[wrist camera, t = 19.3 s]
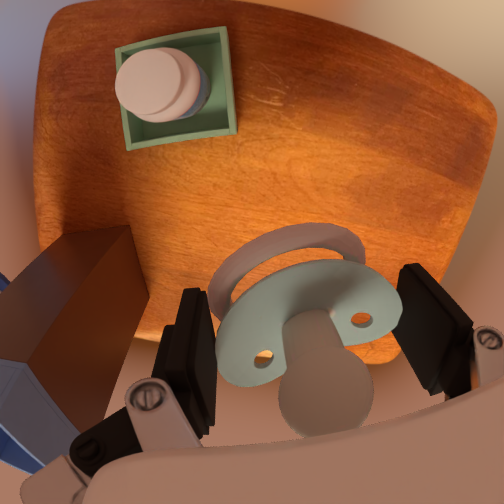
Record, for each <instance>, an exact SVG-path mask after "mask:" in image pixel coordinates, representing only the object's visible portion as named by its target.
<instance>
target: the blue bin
mask: <svg viewBox="0 0 504 504" xmlns="http://www.w3.org/2000/svg"><path fill="white" fill-rule="evenodd" d="M148 301H149V295H148V291H147V288H146V285H145V281H144V278H143V274H142V271H141V267H140V264H139V260H138V256H137V253H136V249H135V245H134V241H133V237H132V233H131V229H130V225H126V226H119V227H112V228H105V229H98V230H91V231H84V232H77V233H71V234H64V235H61V236H60V237H59V238H58V239H57V240H56V241H55V242H53V243H52V244H51V245H50V246H49V247H48V248H47V249H46V250H44V251H43V252H42V253H41V254H40V255H39V256H38V257H37V258H36V259H35V260H34V261H33V262H31V263H30V264H29V265H28V266H27V267H26V268H25V269H24V270H23V271H22V272H21V273H20V274H19V275H18V276H17V277H16V278H15V279H14V280H13V281H12V282H11V283H10V284H9V285H8V286H7V287H6V288H5V289H4V290H3V291H2V292H1V293H0V461H2V462H4V463H6V464H8V465H10V466H12V467H14V468H16V469H19V470H21V471H23V472H25V473H28V474H30V475H33V474H34V473H36V472H37V471H39V470H40V469H42V468H43V467H45V466H46V465H47V464H49V463H50V462H52V461H53V460H55V459H56V458H57V457H59V456H60V455H64V456H66V455H68V454H69V449H70V446H71V443H72V442H73V440H74V439H75V438H76V437H77V436H78V435H80V434H81V433H83V432H85V431H86V430H88V429H90V428H91V427H93V426H95V425H96V424H98V423H99V422H101V421H103V419H104V416H105V413H106V410H107V407H108V404H109V401H110V398H111V395H112V393H113V390H114V387H115V384H116V382H117V379H118V376H119V373H120V371H121V368H122V365H123V363H124V360H125V357H126V355H127V352H128V350H129V347H130V344H131V342H132V339H133V337H134V334H135V332H136V329H137V327H138V325H139V322H140V320H141V317H142V315H143V312H144V310H145V308H146V305H147V303H148Z"/></svg>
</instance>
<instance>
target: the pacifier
mask: <svg viewBox="0 0 504 504" xmlns="http://www.w3.org/2000/svg"><path fill="white" fill-rule="evenodd" d="M303 248H326V249H330V250H334V251H336V252H338V253H339V254H341V255H342V256H343V259H344V260H340V259H321V260H313V261H307V262H302V263H298V264H295V265H292V266H288V267H286V268H283V269H281V270H278V271H276V272H274V273H272V274H270V275H268V276H266V277H264V278H263V279H261V280H260V281H258V282H257V283H255V284H254V285H253V286H251V287H250V288H249V289H247V290H246V291H245V292H244V293H243V294H242V295H241V296H240V297H239V298H238V299H237V300H236V301H235V302H234V303H232V300H231V293H232V292H233V290H234V288H235V286H236V284H237V283H238V282H239V281H240V280H241V279H242V278H243V277H244V276H245V275H246V274H247V273H248V272H249V271H250V270H252V269H253V268H255V267H256V266H257V265H259V264H260V263H262V262H264V261H266V260H268V259H270V258H272V257H274V256H276V255H279V254H282V253H285V252H288V251H291V250H297V249H303ZM365 262H366V261H365V248H364V246H363V244H362V242H361V240H360V239H359V237H358V236H356V235H355V234H354V233H352V232H351V231H350V230H348V229H347V228H344V227H340V226H337V225H334V224H330V223H304V224H297V225H290V226H286V227H283V228H280V229H277V230H274V231H271V232H268V233H265V234H263V235H261V236H259V237H258V238H256V239H254V240H252V241H250V242H248V243H246V244H245V245H243V246H242V247H241V248H239V249H238V250H237V251H236V252H234V253H233V254H232V255H231V256H229V257H228V258H227V259H226V260H225V261H224V262H223V264H222V265H221V266H220V267H219V268H218V270H217V271H216V272H215V273H214V275H213V278H212V280H211V282H210V284H209V286H208V295H207V299H208V304H209V307H210V310H211V312H212V313H213V314H214V315H215V316H216V317H217V318H218V319H219V320H220V321H221V323H220V326H219V328H218V330H217V336H216V342H215V353H216V358H217V363H218V364H217V367H218V370H219V372H220V373H221V375H222V376H223V377H224V379H225V380H227V381H228V382H229V383H231V384H234V385H236V386H240V387H253V386H257V385H261V384H264V383H267V382H270V381H272V380H274V379H275V378H277V377H279V376H281V375H282V374H284V375H283V377H282V380H281V383H280V387H279V398H278V399H279V406H280V410H281V413H282V416H283V418H284V419H285V421H286V423H287V424H288V425H289V426H290V428H291V429H292V430H294V431H295V432H296V433H297V434H299V435H300V436H302V437H304V438H309V437H315V436H321V435H326V434H331V433H336V432H341V431H346V430H351V429H355V428H359V427H360V426H361V425H362V424H363V422H364V421H365V419H366V418H367V416H368V414H369V411H370V409H371V406H372V402H373V393H374V392H373V391H374V389H373V381H372V378H371V375H370V372H369V370H368V368H367V366H366V365H365V364H364V362H363V361H362V360H361V359H360V358H359V357H358V356H357V355H355V354H354V353H352V352H351V351H349V350H347V349H345V348H344V346H350V345H358V344H362V343H367V342H370V341H373V340H375V339H378V338H381V337H382V336H384V335H386V334H388V333H389V332H390V331H391V330H393V329H394V328H395V327H396V326H397V324H398V321H399V318H400V316H401V314H402V310H403V308H402V302H401V299H400V297H399V295H398V293H397V291H396V290H395V289H394V287H393V286H392V285H391V284H390V283H389V282H388V281H387V280H386V279H385V278H384V277H383V276H382V275H381V274H379V273H378V272H376V271H375V270H373V269H372V268H370V267H368V266H366V265H365ZM359 312H365V313H368V314H370V315H371V317H370V320H369V321H367V322H366V323H363V324H357V323H354V322H352V321H351V317H352V316H353V315H354V314H356V313H359ZM264 350H270V351H272V353H273V355H272V357H271V358H270V360H268V361H267V362H265V363H262V364H257V363H256V362H254V359H255V357H256V355H257V354H258V353H260V352H261V351H264Z"/></svg>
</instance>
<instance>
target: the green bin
mask: <svg viewBox="0 0 504 504" xmlns="http://www.w3.org/2000/svg"><path fill="white" fill-rule="evenodd" d="M163 47H165V48H174V49H177V50H180V51H182V52H183V53H185V54H187V55H188V56H189V57H190V58H191V59H192V60H194V61H195V62H196V63H197V64H198V65H199V66H200V67H201V68H202V69H203V70H204V71H205V72H206V74H207V76H208V78H209V80H210V84H211V92H210V96H209V99H208V101H207V103H206V105H205V106H204V107H203V108H202V109H201V110H200V111H199V112H198V113H196V114H195V115H193V116H191V117H188V118H184V119H178V120H172V121H167V122H149V121H145V120H142V119H140V118H139V117H137V116H136V115H134V114H133V113H132V112H130V111H128V110H127V109H125V108H124V107H123V106H122V105H121V103H120V108H121V116H122V123H123V131H124V137H125V144H126V150H127V151H129V150H134V149H139V148H144V147H149V146H155V145H161V144H166V143H173V142H179V141H185V140H192V139H200V138H207V137H215V136H224V135H233V134H237V131H238V129H237V119H236V108H235V98H234V88H233V78H232V68H231V58H230V47H229V38H228V33H227V28H226V26H222V27H213V28H206V29H199V30H193V31H187V32H181V33H176V34H171V35H166V36H162V37H157V38H153V39H149V40H145V41H141V42H137V43H133V44H129V45H126V46H122V47H119V48H116V49H115V57H116V70H117V73H118V71H119V69H120V67H121V66H122V65H123V63H124V62H125V61H126V60H127V59H128V58H129V57H131V56H132V55H133V54H135V53H137V52H140V51H142V50H146V49H155V48H163Z"/></svg>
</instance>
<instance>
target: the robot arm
mask: <svg viewBox="0 0 504 504" xmlns="http://www.w3.org/2000/svg"><path fill="white" fill-rule="evenodd" d="M396 291H397V293H398V295H399V297H400V299H401V302H402V308H403V310H402V314H401V316H400V318H399V321H398V324H397V326H396V327H395V328H394V329H393V330H391V332H392V333H393V335H394V337H395V338H396V340H397V342H398V344H399V345H400V347H401V349H402V350H403V352H404V354H405V356H406V357H407V359H408V361H409V363H410V365H411V367H412V368H413V370H414V372H415V374H416V375H417V377H418V379H419V381H420V383H421V385H422V387H423V388H424V389H426V390H428V392H429V394H430V396H432V395H435V394H438V393H441V392H442V391H444V393H445V402H442V403H440V404H437V405H434V406H431V407H429V408H425V409H423V410H419V411H416V412H413V413H410V414H407V415H404V416H401V417H397V418H394V419H390V420H387V421H383V422H379V423H376V424H372V425H368V426H364V427H360V428H355V429H351V430H346V431H341V432H336V433H331V434H326V435H321V436H315V437H309V438H302V439H296V440H289V441H281V442H271V443H262V444H250V445H237V446H220V447H203V446H202V444H201V442H200V441H199V440H200V439H201V438H202V437H203V435H209V426H214V425H215V406H216V405H215V404H216V383H217V364H218V363H217V358H216V353H215V342H216V337H215V333H214V328H213V323H212V319H211V314H210V309H209V304H208V299H207V294H206V291H201V290H200V288H199V287H198V288H186V289H184V290H183V294H182V298H181V302H180V306H179V310H178V314H177V318H176V322H175V325H166V326H165V327H164V330H163V334H162V337H161V341H160V345H159V348H158V353H157V356H156V360H155V364H154V368H153V371H152V375H151V378H144V379H141V380H139V381H137V382H135V383H134V384H132V385H131V386H130V387H129V389H128V390H127V392H126V394H125V404H126V406H125V407H123V408H122V409H120V410H119V411H117V412H115V413H114V414H112V415H111V416H109V417H108V418H106V419H104V420H103V421H101V422H99V423H98V424H96V425H95V426H93V427H91V428H90V429H88V430H86V431H85V432H83V433H81V434H80V435H78V436H77V437H76V438H75V439H74V440H73V442H72V443H71V446H70V449H69V454H68V455H66V456H64V455H60V456H59V457H57V458H56V459H55V460H53V461H52V462H50V463H49V464H47V465H46V466H45V467H43V468H42V469H40V470H39V471H37V472H36V473H34V474H33V475H32V476H30V477H29V478H27V479H26V480H25V481H24V482H23V483H22V485H21V488H20V496H21V499H22V502H23V504H504V336H503V334H502V333H501V332H500V331H498V330H497V329H495V328H493V327H490V326H481V327H478V328H477V329H475V330H474V329H473V328H472V326H473V321H472V320H471V319H470V318H469V317H468V316H467V314H466V313H465V312H464V311H463V310H462V309H461V307H460V306H459V305H457V303H456V302H455V301H454V300H453V299H452V298H451V296H450V295H449V294H448V293H447V292H446V291H445V290H444V289H443V288H442V287H441V286H440V285H439V283H438V282H437V281H436V280H435V279H434V278H433V277H432V276H431V275H430V274H429V273H428V272H427V271H426V270H425V269H424V268H423V267H422V266H421V265H420V264H419V263H412V264H405V265H404V267H403V269H401V270H400V272H399V278H398V284H397V289H396ZM0 293H1V291H0Z"/></svg>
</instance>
